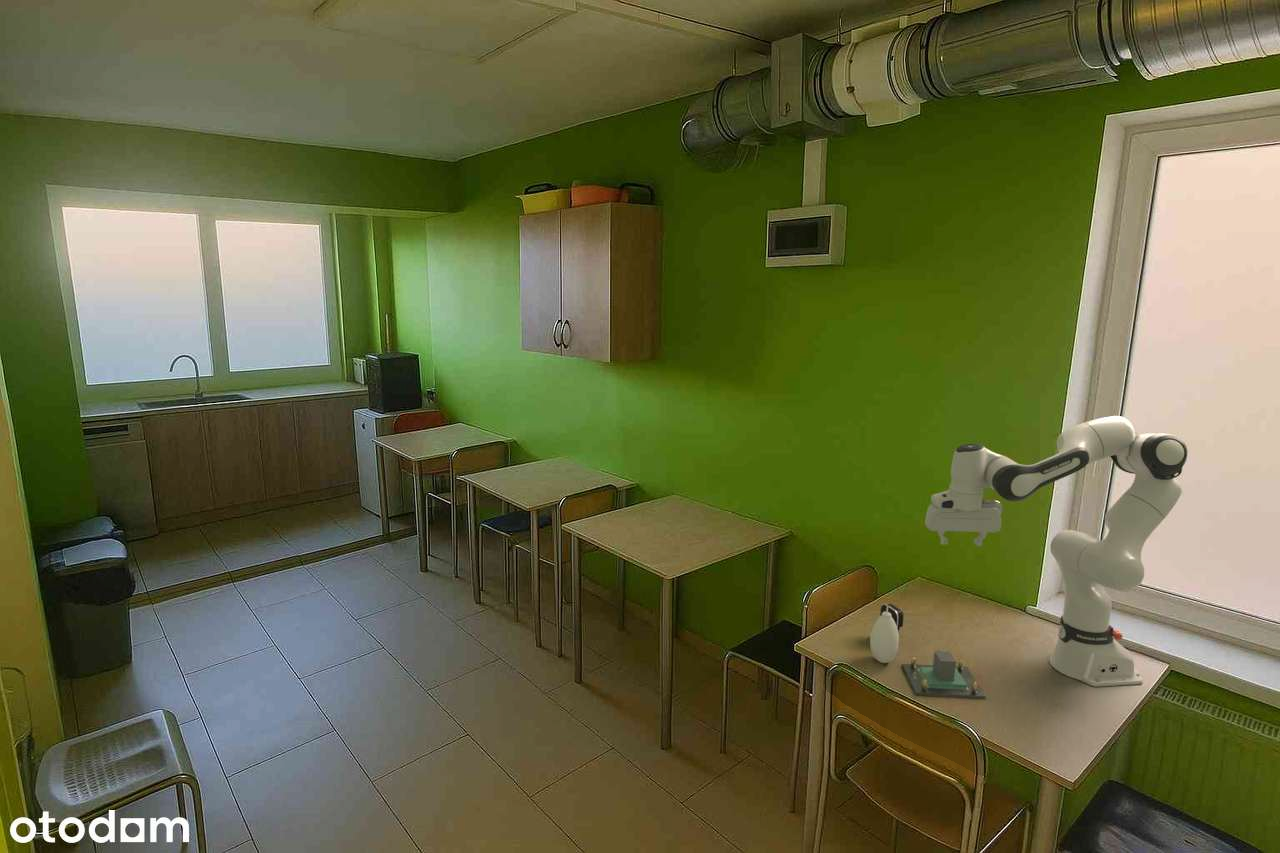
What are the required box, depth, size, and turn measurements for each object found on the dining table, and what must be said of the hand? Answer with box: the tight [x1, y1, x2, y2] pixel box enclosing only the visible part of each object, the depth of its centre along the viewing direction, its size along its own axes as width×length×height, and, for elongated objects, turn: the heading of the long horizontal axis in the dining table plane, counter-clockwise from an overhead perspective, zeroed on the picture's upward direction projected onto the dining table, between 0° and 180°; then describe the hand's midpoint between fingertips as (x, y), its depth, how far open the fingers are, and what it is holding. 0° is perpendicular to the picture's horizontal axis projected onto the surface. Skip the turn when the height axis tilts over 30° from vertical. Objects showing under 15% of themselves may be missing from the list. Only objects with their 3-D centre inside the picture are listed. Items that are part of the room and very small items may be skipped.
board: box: [920, 650, 967, 688], centre depth 193 cm, size 10×8×7 cm
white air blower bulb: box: [869, 605, 900, 664], centre depth 202 cm, size 8×8×18 cm
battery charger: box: [879, 603, 904, 633], centre depth 214 cm, size 7×4×11 cm, turn 21°
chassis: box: [901, 655, 987, 700], centre depth 193 cm, size 18×14×4 cm
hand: (960, 544), depth 203 cm, fingers open, 8 cm apart
